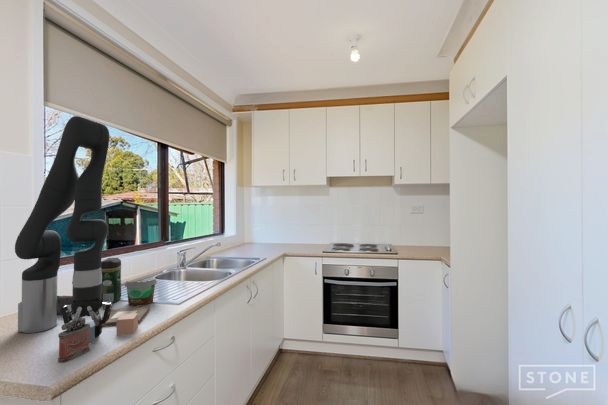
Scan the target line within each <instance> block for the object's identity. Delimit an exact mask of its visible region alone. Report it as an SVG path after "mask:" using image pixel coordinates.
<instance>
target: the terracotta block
mask: <svg viewBox="0 0 608 405" xmlns="http://www.w3.org/2000/svg"><path fill="white" fill-rule="evenodd" d="M138 328H139V324H138V313H136V314H122V315H121V316H120V317H119V318H118V319H117V325H116V336H119V335H120V336H121V335H131V334H134V333H135V332H136V331H137V330H138Z"/></svg>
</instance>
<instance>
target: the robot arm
mask: <svg viewBox="0 0 608 405" xmlns="http://www.w3.org/2000/svg"><path fill="white" fill-rule="evenodd" d="M109 145H110V131H109V129H108V127H107V125H104V124H103V123H101V122H97V121H94V120H92V119H88V118H85V117H82V116H78V115H76V116H75V115H73V116H72V117H70V118H69V119H68V120H67V122H66V124H65V127H64V129H63V132H62V135H61V138H60V141H59V144H58V148H57V151H56V154H55V157H54V160H53V163H52V165H51V167H50V170H49V172H48V175H47V176H46V178H45V180H44V183H43V184H42V187H41V190H40V192H39V195H38V197H37V199H36V203H35V204H34V206H33V209H32V211H31V212H30V214H29V217H28V218H27V220H26V222H25V223H24V225H23V226H22V228H21V230H20V232H19V233H18V235H17V238H16V240H15V244H14V253H15V256H16V257H18V258H19V259H20V260H36V259H37V260H36V262H35V263H34V264H32V265H31V266H30V267H27V268H26V269H24V270H23V271H22V272H21V301H20V302H19V303H18V304H17V333H24V334H33V333H39V332H44V331H47V330H50V329H53V328H54V327H56V326H57V325H58V314H57V296H58V271H59V269H60V266H61V253H62V240H61V239H62V238H61V236H60V234H59V233H58V232H57V231H55V230H53V229H52V230H51V229H48V230H47V228H48V227H49V226H50V225H51V223H52V222H53V221H54V220H56V219H57V218H58V217H60V216H61V215H62V214H63V213H65V212H66V211H67V210H68V209H69V208H70V207H72V205H73V203H74V207H73V213H72V215H71V218H70V220H69V223H68V225H67V228H66V233H65V234H66V238H67V239H68V241H70V243H75V244H76V243H93V242H94V243H93V245H92V246H91V247H88V248H85V249H80V250H77V251H76V252H75V253H74V255H73V275H72V281H71V283H72V284H71V285H72V296H73V297H72V299H73V302H72V304H71V305H65V306H64V307H62V308H61V309H60V310H61V314H60V315H61V317H62V320H63V324H66V323H69V322H72V321H73V320H74V319H77V320H79V319H82V318H85V317H90V318H91V320H92V321H94V323H95V325H96V326H95V338H97V337H98V338H99V337H100V336H99V335H101V334H102V332H103V326H102V324H103V323H106V322H107V321H108V320H109V317H110V313H111V310H112V308H113V305H114V302H110V303H105V302H103V300H102V271H101V262H102V254H103V248H104V245H105V241H106V239H107V236H108V232H109V224H108V223H107V222H106V221H105V219H97V218H95V219H83V217H84V216H85V215H87V214H91V213H97V212H99V211H101V210H102V207H103V206H102V204H103V203H102V199H103V197H102V196H103V193H102V192H103V191H102V190H103V178H104V172H105V168H106V167H105V166H106V161H107V155H108V151H109ZM79 148H84V149H87V150H90V153H91V154H90V160H89V163H88V165H86V166H87V167H86V168H85V169H84V170H83V171H82V173H80V175H79V174H78V171H77V168H76V162H75V161H76V160H75V159H76V156H77V155H76V154H77V152H78V149H79ZM101 308H102V309H103V315H102V313H101V311H100V309H101ZM71 309H73V310H74V311H75V315H74V316H73V315H72V313H71V312H70V311H71ZM102 317H103V318H102ZM98 338H97V339H98Z"/></svg>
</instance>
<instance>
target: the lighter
mask: <svg viewBox="0 0 608 405" xmlns="http://www.w3.org/2000/svg"><path fill="white" fill-rule="evenodd" d="M73 319H74V318H73ZM85 322H86V317H82V318H81V319H79V320H77V319H74V320H73V321H72V322H69V323H66V324H64V323H63V324H62V325H61V330H62V332H59V333H58V358H57V363H58V364H63V363H68V362H70V361H72V360H75V359H77V358H79V357H81V356H83V355H85V354H86V353H88V352H89V351H90V349H91V348H90V344H89V328H90V324H85Z"/></svg>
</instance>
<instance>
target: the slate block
mask: <svg viewBox="0 0 608 405" xmlns="http://www.w3.org/2000/svg"><path fill="white" fill-rule="evenodd" d="M85 324H90V328H89V345H90V344H94V342H95V341H96V340H98V338H99V337H100V335H101V334H100V335H99V337H97V338H95V326H96V325H95V323H94V321H93V320H92V321H91V320H90V321H85Z"/></svg>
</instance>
